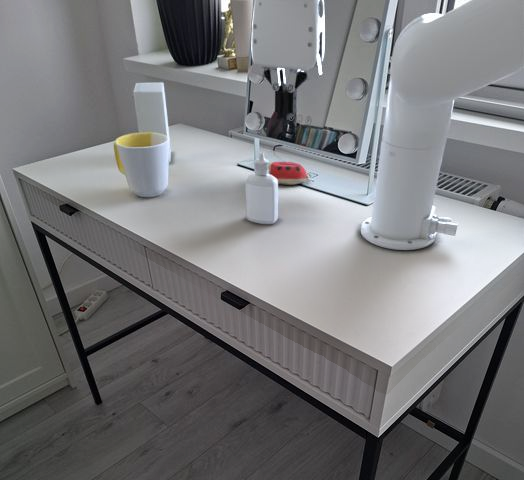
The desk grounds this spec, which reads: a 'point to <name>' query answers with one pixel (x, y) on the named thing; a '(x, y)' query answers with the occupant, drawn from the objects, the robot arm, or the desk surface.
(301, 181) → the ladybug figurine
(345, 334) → the desk surface
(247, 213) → the eye dropper bottle
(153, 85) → the cosmetic box
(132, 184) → the mug
